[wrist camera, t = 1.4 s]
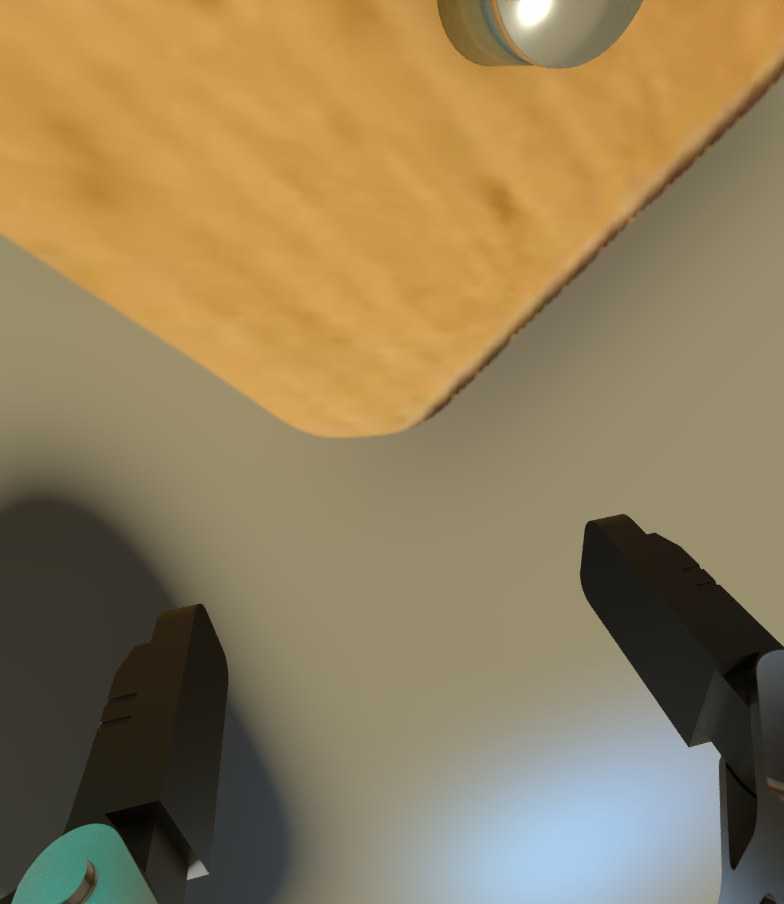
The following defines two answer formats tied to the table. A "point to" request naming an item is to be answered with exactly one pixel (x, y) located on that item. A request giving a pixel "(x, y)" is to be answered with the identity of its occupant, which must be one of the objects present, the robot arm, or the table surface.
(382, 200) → the table surface
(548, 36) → the tea tin
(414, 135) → the table surface
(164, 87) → the table surface
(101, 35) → the table surface
